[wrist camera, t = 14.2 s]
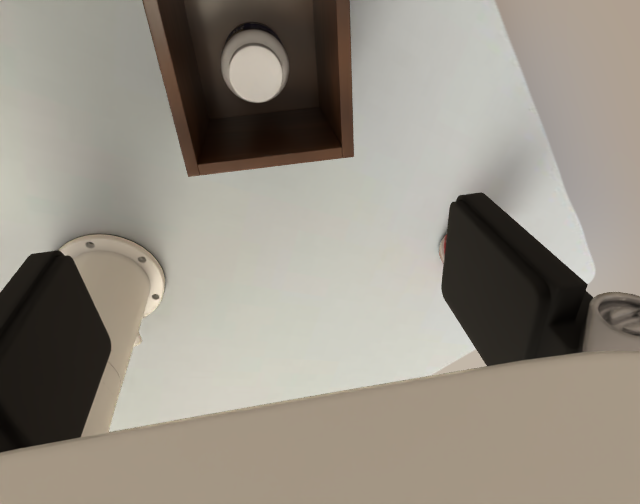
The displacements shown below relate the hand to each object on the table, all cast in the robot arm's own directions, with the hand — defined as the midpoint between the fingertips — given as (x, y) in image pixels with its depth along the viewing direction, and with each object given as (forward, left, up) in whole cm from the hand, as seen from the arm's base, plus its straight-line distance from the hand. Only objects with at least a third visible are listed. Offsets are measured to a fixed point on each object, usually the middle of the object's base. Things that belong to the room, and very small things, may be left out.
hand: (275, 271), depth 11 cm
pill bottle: (0, 0, -35) cm, 35 cm away
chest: (+2, 0, -35) cm, 35 cm away
